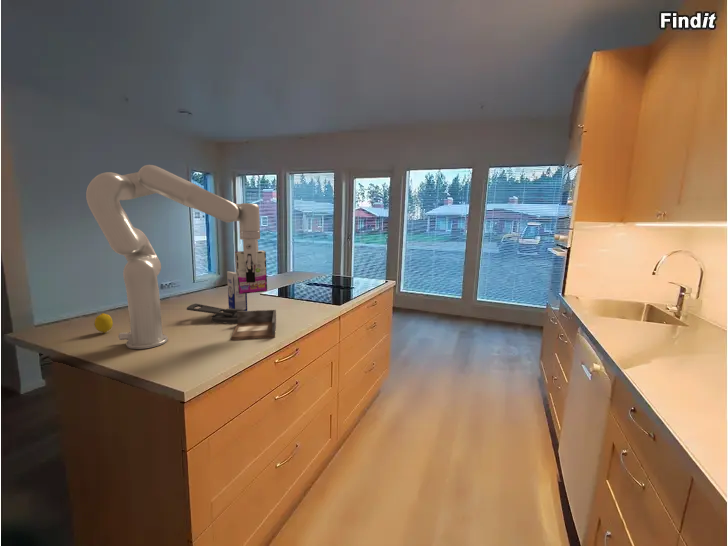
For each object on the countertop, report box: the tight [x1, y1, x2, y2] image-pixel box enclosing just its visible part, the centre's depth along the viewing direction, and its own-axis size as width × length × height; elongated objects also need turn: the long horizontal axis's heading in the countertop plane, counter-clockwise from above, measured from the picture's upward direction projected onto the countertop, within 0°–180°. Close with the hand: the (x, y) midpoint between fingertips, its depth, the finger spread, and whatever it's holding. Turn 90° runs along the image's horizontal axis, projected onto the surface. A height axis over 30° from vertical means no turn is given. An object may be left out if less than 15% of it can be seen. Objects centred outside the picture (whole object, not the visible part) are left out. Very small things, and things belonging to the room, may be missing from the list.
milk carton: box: [226, 271, 248, 311], centre depth 160 cm, size 7×7×20 cm
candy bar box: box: [234, 249, 268, 294], centre depth 129 cm, size 11×5×16 cm, turn 120°
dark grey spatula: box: [185, 303, 244, 325], centre depth 146 cm, size 9×7×25 cm
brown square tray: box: [230, 309, 277, 341], centre depth 133 cm, size 16×18×6 cm
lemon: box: [94, 313, 114, 334], centre depth 127 cm, size 6×6×8 cm
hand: (251, 280), depth 130 cm, fingers closed on candy bar box, 6 cm apart
